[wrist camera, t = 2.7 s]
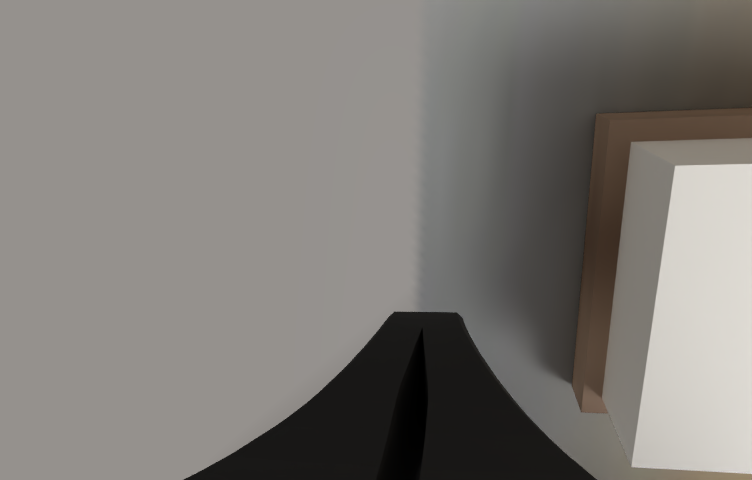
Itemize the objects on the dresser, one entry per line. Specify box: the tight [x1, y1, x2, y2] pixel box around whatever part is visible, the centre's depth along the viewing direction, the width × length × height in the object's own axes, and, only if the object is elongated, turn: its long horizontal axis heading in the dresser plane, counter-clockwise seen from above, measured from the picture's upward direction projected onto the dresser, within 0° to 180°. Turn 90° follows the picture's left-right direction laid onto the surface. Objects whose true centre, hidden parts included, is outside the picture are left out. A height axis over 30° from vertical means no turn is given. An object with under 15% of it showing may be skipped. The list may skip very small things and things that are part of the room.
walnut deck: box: [572, 108, 752, 413], centre depth 13 cm, size 8×7×1 cm
